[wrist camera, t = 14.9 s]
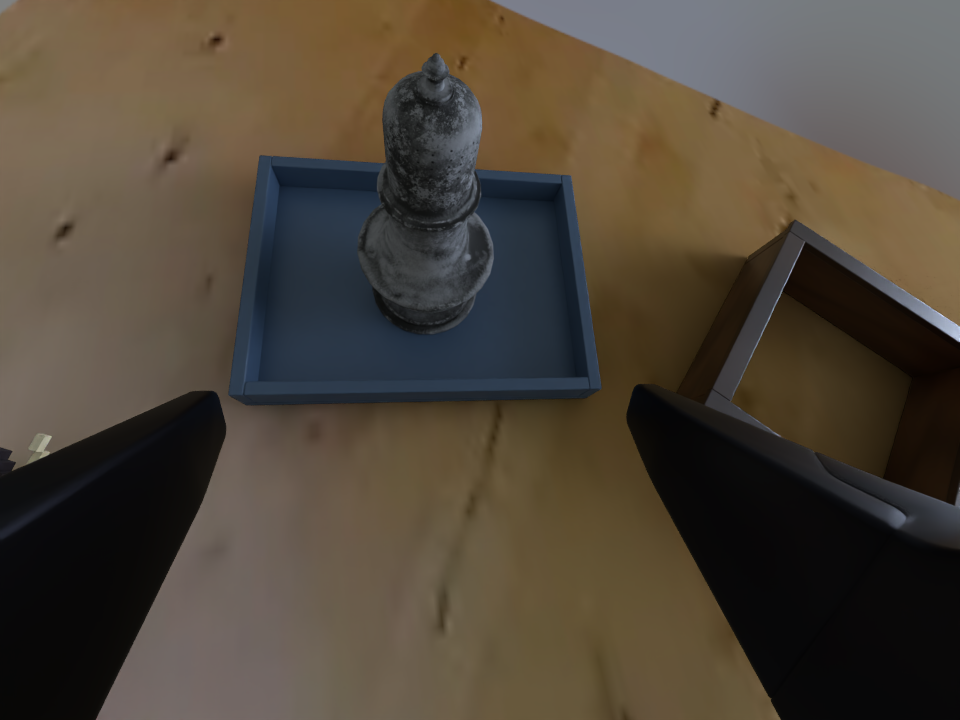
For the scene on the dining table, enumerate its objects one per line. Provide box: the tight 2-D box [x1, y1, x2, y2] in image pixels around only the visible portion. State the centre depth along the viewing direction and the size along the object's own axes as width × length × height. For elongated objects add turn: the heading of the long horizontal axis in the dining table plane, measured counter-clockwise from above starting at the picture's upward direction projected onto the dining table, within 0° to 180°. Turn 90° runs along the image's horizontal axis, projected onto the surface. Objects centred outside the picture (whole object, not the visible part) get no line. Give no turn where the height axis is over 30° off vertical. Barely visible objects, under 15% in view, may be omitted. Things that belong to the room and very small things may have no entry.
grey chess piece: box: [357, 53, 494, 334], centre depth 16 cm, size 6×6×12 cm
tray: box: [228, 155, 602, 405], centre depth 21 cm, size 16×12×2 cm
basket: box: [677, 220, 960, 508], centre depth 22 cm, size 13×13×4 cm
